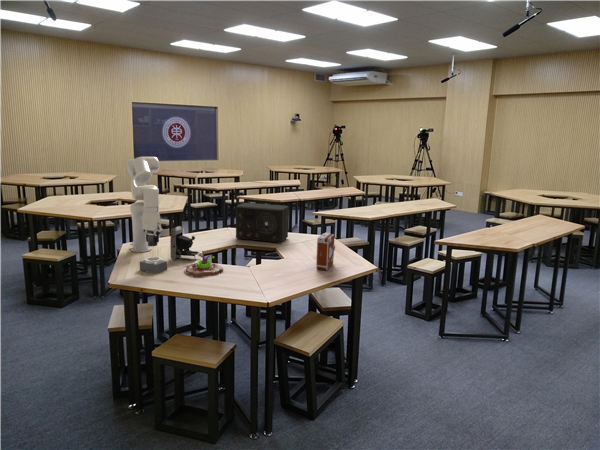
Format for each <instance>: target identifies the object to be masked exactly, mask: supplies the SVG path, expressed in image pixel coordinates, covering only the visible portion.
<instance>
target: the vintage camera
mask: <svg viewBox="0 0 600 450" xmlns="http://www.w3.org/2000/svg"><path fill="white" fill-rule="evenodd" d="M183 228H184V227H183V226H181V225H178V226H176V227H172V228H171V230H170V245H169V247H170V255H169V256H170V259H171V260H176V259H178V258H179V257H181V256H182V257H183V256H185V257H194V258H196V256H198V254H200V253H201V252H199V251H197V250H195V251H193V250H191V248H192V246H193V244H194V241H195V239H196V236H194V235H192V236H191V238H190V237H188V236H186V235H184V234H183V232H184V229H183Z"/></svg>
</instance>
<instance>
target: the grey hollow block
mask: <svg viewBox="0 0 600 450" xmlns="http://www.w3.org/2000/svg"><path fill="white" fill-rule="evenodd" d="M138 265H139V271H141V272H147V273H150V272H151V273H152V274H155V275H156V273H157V274H159V273H163V272H164V271H167V270H168V261H167V260H164V259H162V257H161V256H149V257H146V258H145V259H143V260H141V261H139V264H138ZM151 273H150V274H151Z"/></svg>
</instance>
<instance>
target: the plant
mask: <svg viewBox="0 0 600 450" xmlns="http://www.w3.org/2000/svg"><path fill="white" fill-rule="evenodd" d="M197 256H198V257H200V258H202V259H199V260H197V261H195V262H194V263H191V264H189V265H187V266H186V267H185V273H186V274H187V275H188V276H192V277H195V278H200V277H201V278H202V277H209V276H216V275H219V274H222V273H224V267H223V266H221V265H219V264H218V263H213V262H211V261H212V260H211V259H209V258H210V257H211V258H212V259H215V256H214V255H212V254H210V255H207V257H205V255H204V253H203V252H200V253H198V254H197Z"/></svg>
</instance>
